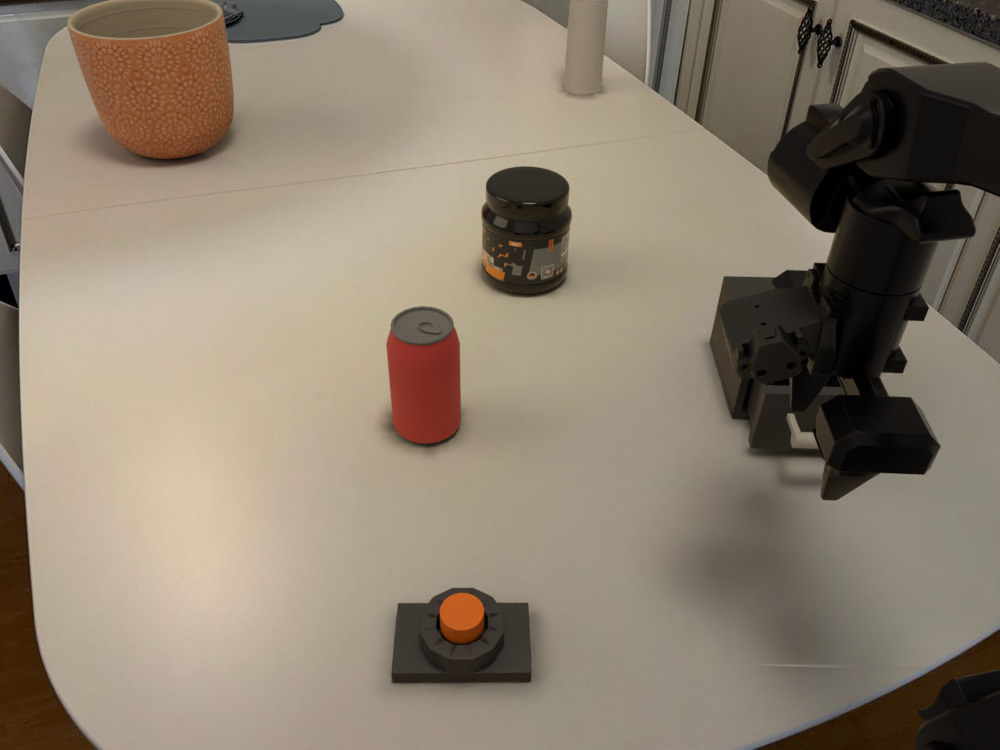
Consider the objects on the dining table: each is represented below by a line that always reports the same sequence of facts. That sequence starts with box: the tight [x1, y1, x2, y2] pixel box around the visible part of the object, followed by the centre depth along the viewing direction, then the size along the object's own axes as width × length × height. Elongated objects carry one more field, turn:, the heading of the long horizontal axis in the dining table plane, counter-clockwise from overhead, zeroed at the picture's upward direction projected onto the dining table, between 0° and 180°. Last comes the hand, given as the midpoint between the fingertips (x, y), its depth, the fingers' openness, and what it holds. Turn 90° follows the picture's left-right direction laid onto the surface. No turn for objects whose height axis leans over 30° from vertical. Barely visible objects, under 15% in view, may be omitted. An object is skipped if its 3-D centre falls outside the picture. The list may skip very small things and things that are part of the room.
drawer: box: [744, 375, 845, 451], centre depth 80 cm, size 15×10×7 cm
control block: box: [391, 587, 533, 683], centre depth 63 cm, size 10×6×3 cm, turn 91°
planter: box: [66, 0, 235, 160], centre depth 126 cm, size 21×21×19 cm
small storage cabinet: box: [709, 275, 776, 420], centre depth 86 cm, size 13×12×9 cm
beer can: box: [385, 305, 462, 445], centre depth 79 cm, size 7×7×12 cm
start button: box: [440, 593, 484, 644], centre depth 62 cm, size 3×3×2 cm
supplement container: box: [480, 165, 573, 295], centre depth 100 cm, size 10×10×12 cm
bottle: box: [563, 0, 609, 96], centre depth 144 cm, size 7×7×28 cm
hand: (811, 452), depth 63 cm, fingers open, 9 cm apart
